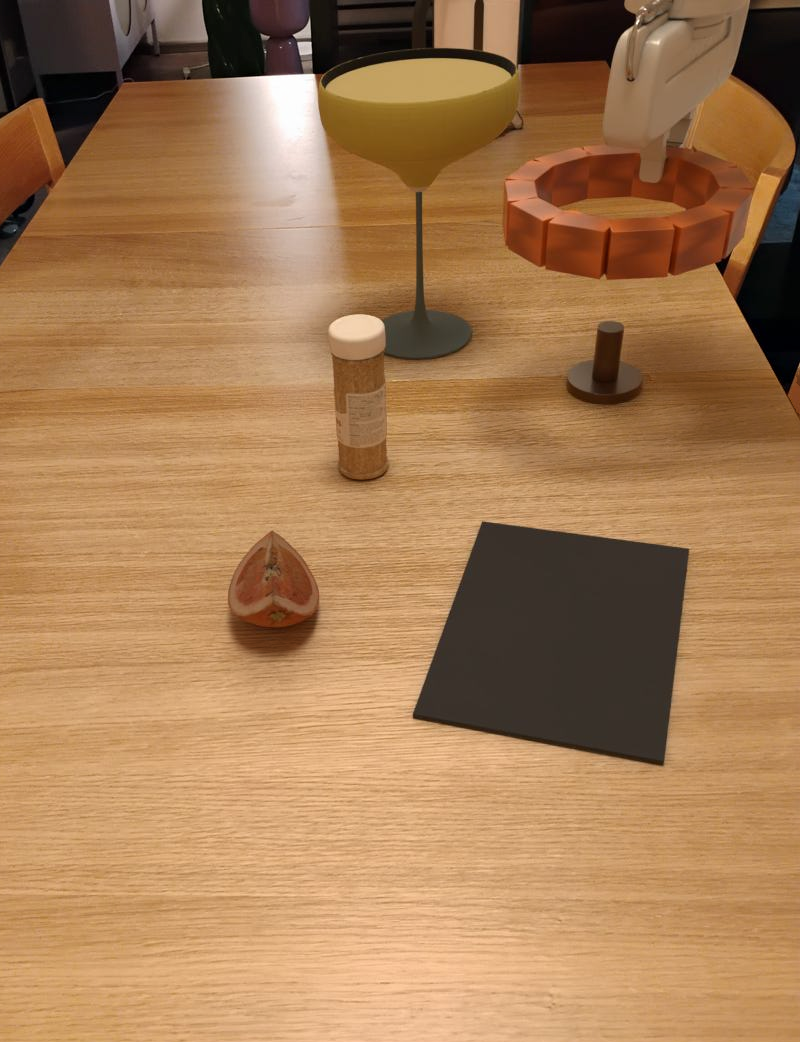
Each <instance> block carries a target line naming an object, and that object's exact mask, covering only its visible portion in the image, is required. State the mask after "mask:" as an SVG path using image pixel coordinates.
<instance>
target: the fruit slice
mask: <svg viewBox="0 0 800 1042" xmlns="http://www.w3.org/2000/svg"><path fill="white" fill-rule="evenodd" d="M227 603H228V608H229V611H230V612H231V613H232V614H233V615H235V617H237V618H238V619H241V620H242V621H245V622H248V623H249V624H252V625H256V626H259V627H267V628H286V627H288V626H293V625H296V624H299V623H301V622H304V621H305V620H306V619H308V618H310V617H311V616H312V615H313V614H314V613H315V612H316V610H317V608H318V606H319V604H320V591H319V587H318V584H317V581H316V578H315V577H314V575H313V573H312V571H311V570H310V568H309V565H308V563H307V562H306V561H305V559H304V558H303V557H302V555H301V553H299V552H298V551H297V550H296V549H295V548H294V547H293V546H292V545H291V544H290V543H289V542H288V541H287V540H286V539H285V537H282V536H281V535H280V534H278V533H277V532H275V531H274V530H270V531H269V532H268V533H266V534H264V536H263V537H262V538H260V539H259V540H258V541H257V542H256V543H255V544H254V545H253V546H251V548H250V549H249V551H248V552H247V553H246V554H245V555H244V556H243V557H242V559H241V560H240V562H239V564H238V565H237V567H236V569H235V571H234V572H233V575H232V578H231V581H230V583H229V587H228V592H227Z"/></svg>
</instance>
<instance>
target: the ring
mask: <svg viewBox="0 0 800 1042" xmlns="http://www.w3.org/2000/svg"><path fill="white" fill-rule="evenodd" d="M666 155H668V156H669V158H668V165H667V171H666V174H665V176H664V177H663V178H662V179H661V180H660V181H658V182H657V183H650V182H643V181H641V180H640V177H639V173H640V164H641V158H640V152H639V149H629V148H621V147H614V146H609V145H606V144H597V145H584V146H582V148H580V147H578V146H575V147H572V148H568V149H565V150H561V151H557V152H554V153H553V152H552V153H549V154H546V155H541V156H539V157H535V158H533V160H528V161H527V162H525V163H523V164H522V165H521V166H520V167H519V168H517V169H516V170H515V171H513V172H512V173H510V174H509V175H508V176H506V178H505V180H504V181H503V197H502V198H503V201H502V203H503V204H502V231H503V238H504V245H505V247H507V250H509V251H511V252H512V253H513V254H514V253H515V254H516V255H517V256H519V257H521V258H522V259H524V260H526V261H528V262H529V263H531V264H533V265H535V266H536V267H538V268H543V267H544V269H545V270H546V271H552V272H556V273H563V274H567V275H573V276H577V277H578V276H579V277H583V278H590V279H593V280H594V279H595V280H600V279H602V278H603V276H605V279H606V280H607V281H611V280H612V281H613V280H615V281H616V280H636V279H637V280H638V279H657V278H658V279H659V278H668V275H671V276H673V277H675V276H679V275H682V274H684V273H688V272H691V271H694V270H698V269H701V268H704V267H707V266H710V265H713V264H717V263H720V262H721V261H722V259H726V258H728V256H729V255H730V254H731V253H732V251H733V250H734V249H735V248H736V247H737V246H738V244H740V242H741V241H742V240H743V239H744V238H745V234H746V230H747V224H748V219H749V215H750V209H751V206H752V205H751V204H752V199H753V195H754V188H755V187H754V186H753V184H752V183H751V181H750V179H749V178H748V177H747V175H746V173H745V172H744V170H743V169H742V167H738V164H735V163H733V162H730V161H728V160H725V159H722V158H721V157H718V156H715V155H712V154H710V153H708V152H705V151H702V150H696V151H695V150H694V148H686V147H684V148H678V147H670V146H666ZM615 198H637V199H643V200H651V201H657V202H665V203H672V204H674V205H677V206H678V207H681V208H683V209H685V210H682V211H678V212H675V213H671V214H668V215H664V216H648V217H647V216H646V217H628V218H627V217H625V218H608V217H603V216H602V217H600V216H595V215H589V214H584V213H583V214H584V215H583V214H576V213H570V212H565V211H566V210H563V209H562V207H565V206H568V205H572V204H575V203H578V202H581V201H585V200H597V199H615ZM560 207H561V208H560Z"/></svg>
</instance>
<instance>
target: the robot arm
mask: <svg viewBox="0 0 800 1042" xmlns="http://www.w3.org/2000/svg"><path fill="white" fill-rule="evenodd" d="M750 3H751V0H624V4H623V5H624V8H625V9H626V11H628V12H630V13H632V14H635V21H634V24H633V25H632V26H630V27H629V28H628V29H626V30H625V31H624V32H623V33H621V35H620V37H619V38H618V40H617V43H616V45H615V49H614V52H613V57H612V61H611V65H610V66H611V67H610V72H609V77H608V83H607V90H606V96H605V102H604V109H603V116H602V117H603V118H602V125H601V133H602V138H603V141H604V144H605V145H609V146H614V147H621V148H629V149H639V152H640V158H641V164H640V173H639V177H640V180H641V181H643V182H650V183H657V182H658V181H660V180H661V179H662V178H663V177H664V176H665V174H666V171H667V165H668V158H669V156H668V155H666V146H670V147H678V148H686V147H685V146H686V141H687V139H688V136H689V134H690V132H691V129H692V125H693V123H694V121H695V117H696V111H697V107H698V106H699V105H700V104H702V103H703V102H704V101H705V100H707V98H709V97H710V96H711V95H712V94H713V93H714V92H716V91H717V90H718V89H719V88H720V87H722V86H723V85H724V84H725V83H727V82H728V80H729V78H730V76H731V74H732V72H733V69H734V67H735V64H736V61H737V57H738V54H739V50H740V47H741V42H742V38H743V35H744V30H745V26H746V21H747V18H748V14H749V13H748V12H749V8H750Z"/></svg>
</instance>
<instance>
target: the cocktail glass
mask: <svg viewBox="0 0 800 1042" xmlns="http://www.w3.org/2000/svg"><path fill="white" fill-rule="evenodd" d="M520 83H521V81H520V73H519V68H518V69H517V67H516V65H515V64H514V63H513V62H512V61H511V60H509V59H507V58H505V57H503V56H500V55H497V54H494V53H489V52H485V51H479V50H471V49H459V48H433V47H426V48H422V49H412V48H411V49H399V50H392V51H386V52H380V53H375V54H370V55H366V56H361V57H358V58H353V59H351V60H348V61H346V62H343V63H340V64H338V65H336V66H334V67H332V68H330V69H329V70H327V71H326V72H325V73H324V74H323V75H322V76H321V78H320V80H319V83H318V90H317V102H318V103H317V105H318V112H319V113H318V114H319V118H320V122H321V126H322V128H323V130H324V131H325V133H326V134H327V135H328V136H329V137H330V138H331V140H333V142H335V143H336V144H338V145H339V146H340V147H342V148H343V149H344V150H345V151H347V152H349V153H351V154H353V155H355V156H357V157H359V158H362V159H364V160H366V161H368V162H371V163H373V164H375V165H376V164H377V165H379V166H382V167H385V168H386V169H389V170H390V171H392V172H394V173H395V174H396V175H397V176H398V177H399V179H400V180H401V181H402V183H403V184H404V185H405V186H406V188H407V189H408V190H410V191H411V192H414V193H415V231H416V232H415V236H416V237H415V246H416V248H415V249H416V250H415V252H416V253H415V254H416V255H415V266H416V267H415V302H414V310H407V311H402V312H398V313H397V312H396V313H394V314H391V315H388V316H386V317H384V318H382V319H380V320H381V321H382V322H383V323H384V326H385V337H386V346H385V348H384V349H385V352H384V355H387V356H390V357H393V358H398V359H405V360H428V359H429V360H430V359H436V358H440V357H445V356H448V355H450V354H453V353H455V352H458V351H459V350H461V349H462V348H464V347H465V346H466V345H467V344H468V343H469V342H470V340H472V335H473V330H472V327H471V324H470V323H469V322H468V321H467V320H465V319H464V318H463V317H461V316H459V315H457V314H454V313H451V312H447V311H443V310H442V311H441V310H436V309H435V310H434V309H427V308H426V301H425V289H424V288H425V287H424V251H423V250H424V248H423V246H424V244H423V192H425V191H427V190H428V189H429V188H430V187H431V186H432V184H433V183H434V182H435V181H436V179H437V177H438V176H439V175H440V173H441V172H442V171H443V170H444V169H446V168H447V167H448V166H450V165H452V164H453V163H455V162H458V161H460V160H461V159H462V160H463V159H464V158H466V157H468V156H470V155H472V154H474V153H476V152H477V151H479V150H480V149H482V148H484V147H486V146H487V145H489V144H491V143H492V142H493V141H494V140H495V139H497V138H498V137H499V136H500V135H501V134H502V133H503V132H504V131H505V130H506V129H507V128H508V127H509V125H511V124H510V123H511V121H512V122H513V120H514V118H515V117H516V114H517V112H516V111H517V110H518V107H519V100H520V92H521V91H520V90H521V89H520V87H521V84H520Z"/></svg>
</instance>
